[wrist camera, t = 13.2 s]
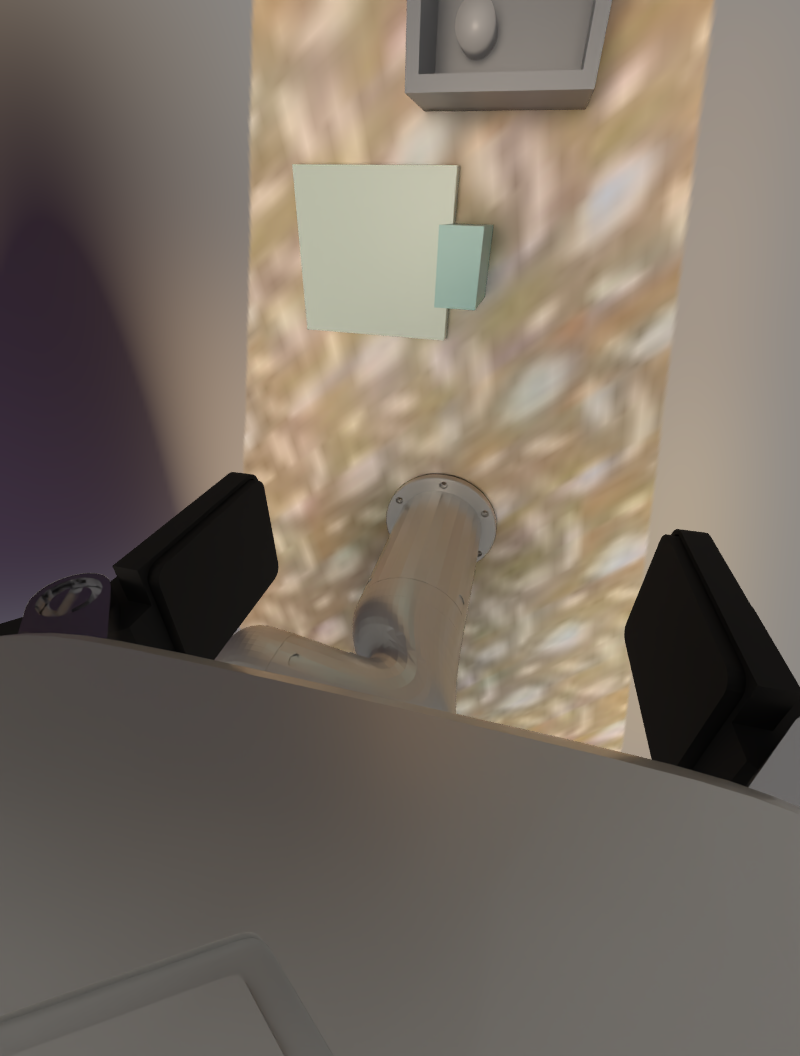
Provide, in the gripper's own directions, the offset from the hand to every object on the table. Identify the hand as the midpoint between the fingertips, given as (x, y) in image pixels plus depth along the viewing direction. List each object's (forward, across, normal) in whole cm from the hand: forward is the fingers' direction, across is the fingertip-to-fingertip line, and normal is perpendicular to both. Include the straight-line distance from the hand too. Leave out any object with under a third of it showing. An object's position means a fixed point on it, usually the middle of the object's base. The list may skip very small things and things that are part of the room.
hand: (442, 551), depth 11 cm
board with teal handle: (+34, +10, -5) cm, 36 cm away
